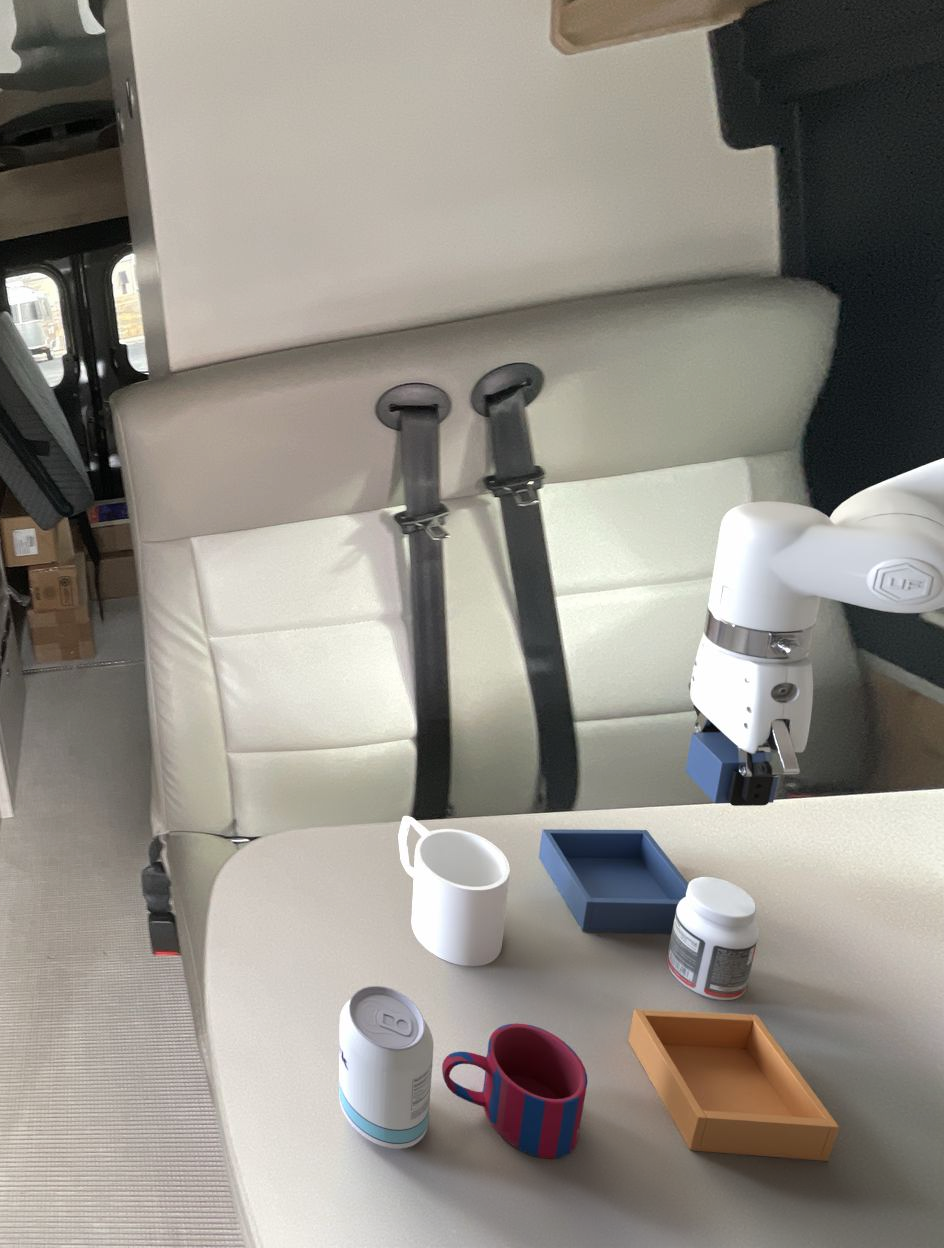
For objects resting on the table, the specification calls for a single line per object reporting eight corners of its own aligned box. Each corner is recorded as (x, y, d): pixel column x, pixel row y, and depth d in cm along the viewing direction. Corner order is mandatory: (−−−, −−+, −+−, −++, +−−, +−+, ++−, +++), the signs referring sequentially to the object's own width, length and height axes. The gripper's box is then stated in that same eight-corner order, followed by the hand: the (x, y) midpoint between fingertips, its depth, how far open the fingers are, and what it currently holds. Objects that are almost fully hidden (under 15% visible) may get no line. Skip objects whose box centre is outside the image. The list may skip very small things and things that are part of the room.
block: (740, 770, 87) (747, 731, 85) (773, 802, 82) (782, 761, 80) (685, 771, 88) (691, 732, 86) (714, 803, 83) (722, 763, 82)
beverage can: (345, 1062, 76) (346, 967, 71) (430, 1093, 72) (437, 996, 68) (332, 1134, 70) (333, 1036, 66) (424, 1172, 67) (431, 1071, 62)
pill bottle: (747, 969, 78) (768, 890, 74) (742, 1014, 74) (764, 933, 71) (669, 940, 82) (685, 863, 78) (661, 981, 78) (677, 902, 74)
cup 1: (426, 867, 94) (430, 797, 91) (521, 947, 83) (530, 871, 80) (367, 893, 92) (369, 822, 89) (457, 978, 81) (463, 902, 78)
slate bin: (641, 858, 91) (646, 829, 90) (698, 934, 82) (704, 904, 80) (538, 856, 93) (541, 829, 92) (582, 931, 84) (586, 902, 83)
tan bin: (748, 1046, 72) (757, 1014, 70) (828, 1161, 63) (840, 1127, 62) (627, 1040, 74) (633, 1008, 72) (690, 1150, 65) (698, 1117, 64)
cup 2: (587, 1171, 65) (597, 1114, 63) (443, 1133, 69) (447, 1078, 67) (567, 1089, 71) (576, 1034, 68) (435, 1058, 75) (439, 1005, 72)
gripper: (876, 676, 70) (835, 844, 76) (744, 587, 85) (718, 733, 92) (772, 680, 72) (740, 844, 78) (660, 593, 87) (641, 735, 94)
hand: (728, 783), depth 85 cm, fingers closed on block, 5 cm apart
